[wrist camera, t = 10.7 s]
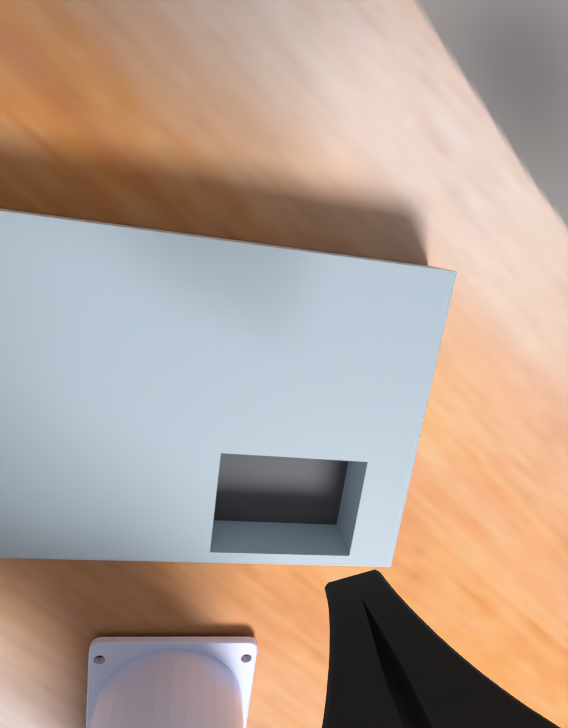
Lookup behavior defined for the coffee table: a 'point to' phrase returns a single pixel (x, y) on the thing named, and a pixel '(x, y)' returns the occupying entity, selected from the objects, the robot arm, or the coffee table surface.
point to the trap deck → (207, 395)
